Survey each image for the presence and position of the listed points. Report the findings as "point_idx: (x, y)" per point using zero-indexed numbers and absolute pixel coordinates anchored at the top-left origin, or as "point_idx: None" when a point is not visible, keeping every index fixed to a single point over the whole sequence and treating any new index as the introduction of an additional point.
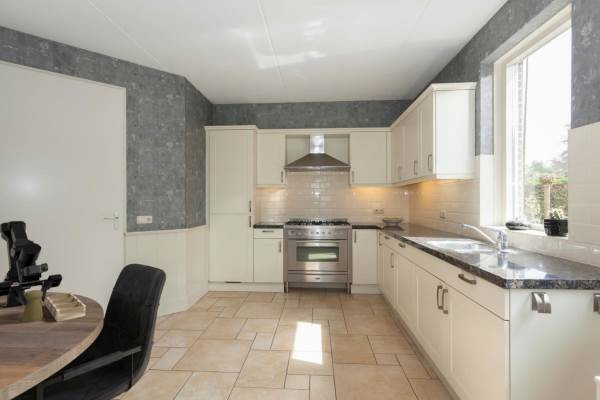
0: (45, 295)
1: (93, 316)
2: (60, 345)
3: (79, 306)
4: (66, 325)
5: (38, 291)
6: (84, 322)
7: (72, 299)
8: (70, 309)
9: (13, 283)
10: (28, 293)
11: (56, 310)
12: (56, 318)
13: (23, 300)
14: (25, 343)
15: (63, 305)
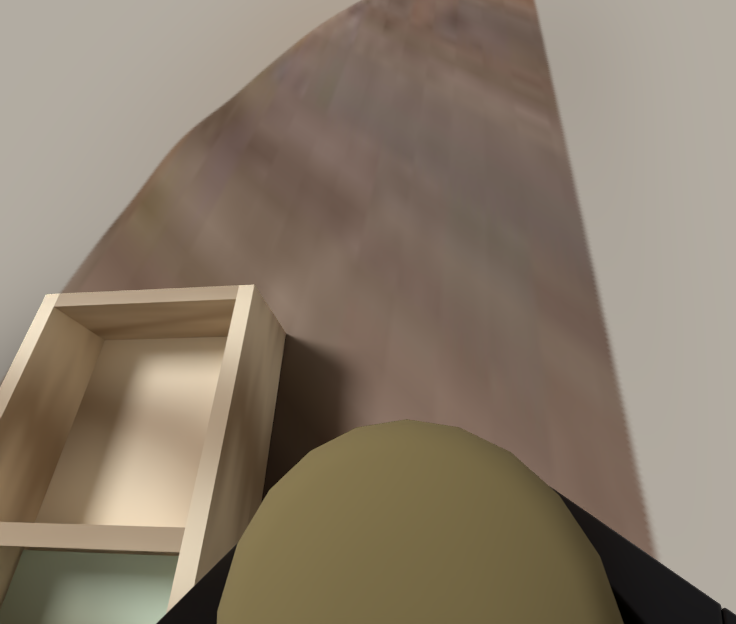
0: (208, 573)
1: (95, 289)
2: (365, 42)
3: (83, 305)
4: (271, 231)
5: (313, 492)
6: (187, 218)
7: None
8: (162, 293)
9: None
10: (542, 499)
11: (246, 341)
12: (274, 357)
13: (592, 519)
14: (479, 114)
15: (114, 526)
